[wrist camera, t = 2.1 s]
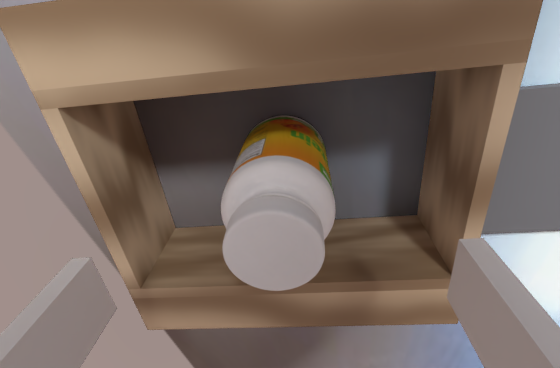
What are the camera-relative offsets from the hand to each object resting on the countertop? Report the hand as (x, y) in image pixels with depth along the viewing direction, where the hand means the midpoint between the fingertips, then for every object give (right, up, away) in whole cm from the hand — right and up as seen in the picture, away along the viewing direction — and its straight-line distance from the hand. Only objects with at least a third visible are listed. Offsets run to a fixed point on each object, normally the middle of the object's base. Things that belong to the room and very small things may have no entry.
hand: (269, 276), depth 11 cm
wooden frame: (+1, +5, +9) cm, 10 cm away
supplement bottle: (+1, +6, +9) cm, 11 cm away
